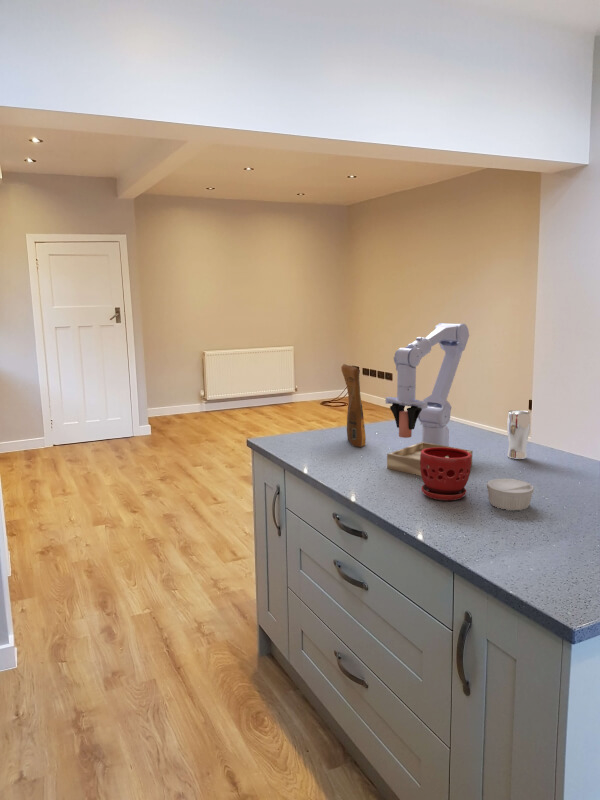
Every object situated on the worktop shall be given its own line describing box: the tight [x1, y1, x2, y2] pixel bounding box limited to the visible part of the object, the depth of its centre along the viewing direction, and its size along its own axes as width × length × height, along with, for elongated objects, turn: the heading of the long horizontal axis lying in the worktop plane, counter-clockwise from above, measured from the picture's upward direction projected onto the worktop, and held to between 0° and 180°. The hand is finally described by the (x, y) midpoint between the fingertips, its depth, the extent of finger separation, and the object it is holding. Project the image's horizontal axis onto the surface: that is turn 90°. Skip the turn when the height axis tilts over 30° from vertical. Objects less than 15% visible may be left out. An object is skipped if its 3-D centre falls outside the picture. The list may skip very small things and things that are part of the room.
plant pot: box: [420, 447, 473, 501], centre depth 162 cm, size 13×13×12 cm
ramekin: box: [486, 478, 535, 511], centre depth 155 cm, size 11×11×5 cm
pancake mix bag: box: [341, 363, 367, 448], centre depth 219 cm, size 7×19×28 cm, turn 6°
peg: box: [398, 410, 413, 439], centre depth 196 cm, size 4×4×8 cm
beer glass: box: [506, 409, 531, 459], centre depth 197 cm, size 7×7×15 cm
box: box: [386, 441, 473, 477], centre depth 189 cm, size 20×18×4 cm
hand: (405, 428), depth 196 cm, fingers closed on peg, 4 cm apart
